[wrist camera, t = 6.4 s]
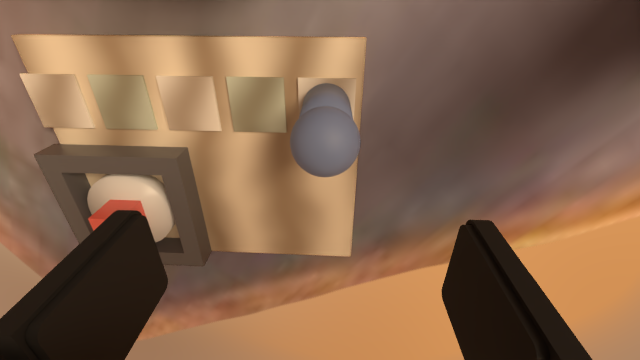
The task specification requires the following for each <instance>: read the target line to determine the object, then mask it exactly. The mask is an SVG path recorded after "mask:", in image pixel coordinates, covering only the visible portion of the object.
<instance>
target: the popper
mask: <svg viewBox="0 0 640 360" xmlns="http://www.w3.org/2000/svg"><path fill="white" fill-rule="evenodd" d="M87 202H88V207H89V210H90V212H91V214H92V216H90V217H89V218H88V220H89V222H90V224H91V226H92V229H93V231H94V230H95V229H96V228H97V227H98V226H99V225H100V224H101V223H102V222H104V221H105V220H106V219H107V218H108V217H109V216H110V215H111V214H112V213H113V212H115V211H117V210H136V211H139V212H140V213H141V214H142V215H143V216H145V217H146V218H147V220H148V223H149V226H150V229H151V232H152V235H153V237H154V240H155V243H156V242H158V241H160V240H162V239H163V238H165V237H166V236H167V234H168V233H169V232H170V230H171V229H172V228H173V226H174V225H175V224H176V223H175V220H174V216H173V213H172V210H171V206H170V203H169V199H168V196H167V193H166V189H165V186H164V184H163V183H162V182H161V181H160V180H158V179H157V178H155V177H154V176H152V175H127V174H106V175H105V176H104V177H102V178H101V179H100V180H98V181H97V182H96V183H94V184H93V185H92V187H91V188H90V190H89V192H88V197H87Z"/></svg>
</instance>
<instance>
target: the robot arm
mask: <svg viewBox="0 0 640 360" xmlns="http://www.w3.org/2000/svg"><path fill="white" fill-rule="evenodd" d="M167 284H168V278H167V275H166V272H165V269H164V266H163V263H162V261H161V258H160V255H159V252H158V249H157V246H156V243H155V240H154V237H153V235H152V232H151V229H150V226H149V223H148V220H147V218H146V217H145V216H143V215H142V214H141V213H140V212H139V211H136V210H117V211H115V212H113V213H112V214H111V215H110V216H109V217H108V218H107V219H106V220H105V221H104V222H102V223H101V224H100V225H99V226H98V227H97V228H96V229H95V230H94V231H93V232H92V233H91V234H90V235H89V236H88V237H87V238H86V239H84V240H83V241H82V242H81V243H80V244H79V245H78V246H77V247H76V248H75V249H74V250H73V251H72V252H71V253H70V254H69V255H67V256H66V257H65V258H64V259H63V260H62V261H61V262H60V263H59V264H58V265H57V266H56V267H55V268H54V269H53V270H52V271H51V272H49V273H48V274H47V275H46V276H45V277H44V278H43V279H42V280H41V281H40V282H39V283H38V284H37V285H36V286H35V287H34V288H33V289H31V290H30V291H29V292H28V293H27V294H26V295H25V296H24V297H23V298H22V299H21V300H20V301H19V302H18V303H17V304H16V305H15V306H13V307H12V308H11V309H10V310H9V311H8V312H7V313H6V314H5V315H4V316H3V317H2V318H1V319H0V360H125V358H126V356H127V355H128V353H129V351H130V350H131V348H132V346H133V344H134V343H135V341H136V339H137V338H138V336H139V334H140V333H141V331H142V329H143V328H144V326H145V324H146V323H147V321H148V319H149V317H150V316H151V314H152V312H153V311H154V309H155V307H156V306H157V304H158V302H159V301H160V299H161V297H162V295H163V294H164V292H165V290H166V288H167ZM442 298H443V302H444V304H445V307H446V310H447V313H448V316H449V318H450V321H451V324H452V327H453V329H454V332H455V335H456V338H457V340H458V343H459V346H460V349H461V352H462V354H463V357H464V359H465V360H592V359H591V357H590V356H589V355H588V353H587V352H586V350H585V349H584V348H583V346H582V345H581V343H580V342H579V341H578V339H577V338H576V336H575V335H574V334H573V332H572V331H571V329H570V328H569V327H568V325H567V324H566V323H565V321H564V320H563V318H562V317H561V316H560V314H559V313H558V312H557V310H556V309H555V307H554V306H553V305H552V303H551V302H550V300H549V299H548V298H547V296H546V295H545V293H544V292H543V291H542V289H541V288H540V286H539V285H538V284H537V282H536V281H535V280H534V278H533V277H532V276H531V274H530V273H529V272H528V271H527V269H526V268H525V266H524V265H523V264H522V262H521V261H520V259H519V258H518V257H517V255H516V254H515V252H514V251H513V250H512V248H511V247H510V246H509V244H508V243H507V241H506V240H505V239H504V237H503V236H502V234H501V233H500V232H499V230H498V229H497V227H496V226H495V225H494V223H493V222H492V221H489V220H468V221H467V223H466V225H461V226H460V229H459V232H458V235H457V239H456V242H455V246H454V249H453V253H452V256H451V259H450V263H449V267H448V270H447V273H446V277H445V280H444V283H443V287H442Z"/></svg>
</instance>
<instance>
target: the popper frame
mask: <svg viewBox="0 0 640 360" xmlns="http://www.w3.org/2000/svg"><path fill="white" fill-rule="evenodd" d="M34 157H35V158H36V160H37V162H38V164H39V166H40V168H41V170H42V172H43V174H44V176H45V178H46V180H47V182H48V184H49V186H50V188H51V190H52V192H53V194H54V195H55V197H56V199H57V201H58V203H59V205H60V207H61V209H62V211H63V213H64V215H65V217H66V219H67V221H68V223H69V225H70V227H71V229H72V231H73V232H74V234H75V236H76V238H77V240H78V242H79V244H80V243H81V242H82V241H83V240H84V239H86V238H87V237H88V236H89V235H90V234H91V233H92V232H93V229H92V226H91V224H90V222H89V220H88V218H89V217H90V216H92V214H91V212H90V210H89V207H88V202H87V197H88V192H89V190H90V188H91V186H90V183H89V181H88V179H87V177H86V174H85V173H93V174H127V175H161V176H162V179H163V182H164V186H165V189H166V193H167V196H168V199H169V203H170V206H171V210H172V213H173V216H174V220H175V223H176V227H177V230H178V233H179V237H180V238H168V237H165V238H163V239H162V240H160V241H158V242H156V246H157V249H158V252H159V255H160V258H161V261H162V263H163V264H164V265H188V266H204V265H205V263H206V261H207V259H208V257H209V255H210V253H211V251H212V250H211V246H210V241H209V237H208V233H207V228H206V224H205V220H204V216H203V211H202V207H201V203H200V198H199V194H198V190H197V185H196V181H195V177H194V172H193V168H192V164H191V160H190V155H189V151H188V147H157V146H117V145H77V144H54V145H52V146H50V147H48V148H46V149H44V150H42V151H40V152H38V153H36V154H34Z"/></svg>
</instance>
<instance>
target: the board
mask: <svg viewBox="0 0 640 360" xmlns="http://www.w3.org/2000/svg"><path fill="white" fill-rule="evenodd" d="M11 36H12V39H13V41H14V43H15V45H16V47H17V50H18V52H19V54H20V56H21V58H22V61H23V63H24V65H25V67H26V69H27V72H28V74H27V73H21V74H20V77H21V79H22V81H23V83H24V85H25V87H26V89H27V91H28V94H29V96H30V98H31V100H32V102H33V104H34V106H35V108H36V111H37V113H38V115H39V117H40V119H41V121H42V123H43V125H44V127H53V129H54V131H55V133H56V135H57V137H58V139H59V142H60V144H77V145H117V146H157V147H188V151H189V155H190V160H191V164H192V168H193V172H194V177H195V181H196V185H197V190H198V194H199V198H200V203H201V207H202V211H203V216H204V220H205V224H206V228H207V233H208V237H209V241H210V246H211V250H212V251H226V252H251V253H276V254H301V255H326V256H351V245H352V231H353V217H354V204H355V190H356V176H357V162H358V156H357V158H356V160H355V161H354V163H353V164H352V165H351V167H350V168H348V169H347V170H346V171H344V172H343V173H341V174H339V175H336V176H333V177H317V176H314V175H311V174H309V173H307V172H306V171H304V170H303V169H302V168H301V167H300V166H299V165H298V164H297V162H296V161H295V159H294V157H293V155H292V152H291V148H290V135H291V131H292V129H293V126H294V124H295V123H296V121H297V120H298V119H299V116H300V112H301V108H302V105H303V101H304V98H305V96H306V94H307V93H308V91H309V90H310V89H312V88H313V87H314V86H316V85H319V84H323V83H330V84H335V85H337V86H339V87H340V88H342V89H343V90H344V91H345V92H346V94H347V95H348V97H349V100H350V105H351V110H352V116H353V120H354V122H355V123H356V125H357V127H358V130H359V133H360V120H361V106H362V93H363V79H364V65H365V51H366V37H288V36H174V35H59V34H18V35H11ZM85 174H86V177H87V179H88V181H89V183H90V186H91V187H92V185H93V184H94V183H96V182H97V181H98V180H100V179H101V178H102V177H104V176H105V175H106V174H93V173H85ZM152 176H154V177H155V178H157V179H158V180H160V181H161V182H162V183H163V184H164V182H163V179H162V176H161V175H152ZM166 237H168V238H180V237H179V233H178V230H177V227H176V224H175V225H174V226H173V228H172V229H171V230H170V232H169V233H168V234H167V236H166Z"/></svg>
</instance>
